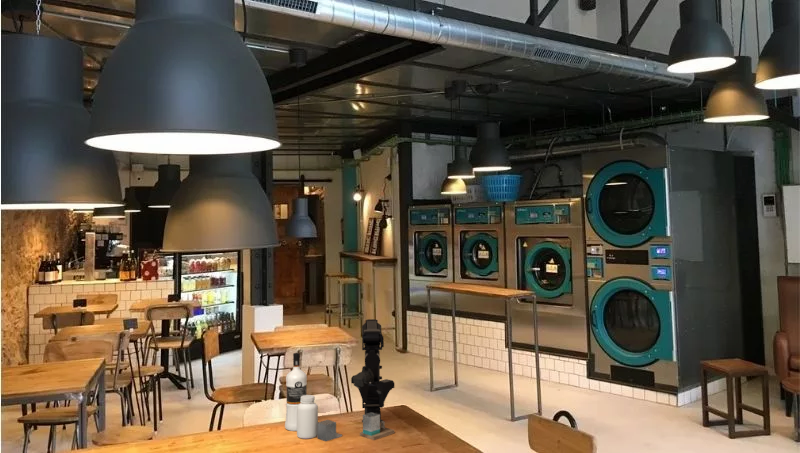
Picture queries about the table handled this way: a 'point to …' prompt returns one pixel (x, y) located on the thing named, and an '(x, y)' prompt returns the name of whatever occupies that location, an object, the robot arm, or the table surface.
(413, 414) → the table surface
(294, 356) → the vodka
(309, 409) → the pill bottle
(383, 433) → the pin board
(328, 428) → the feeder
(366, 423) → the sleeve
